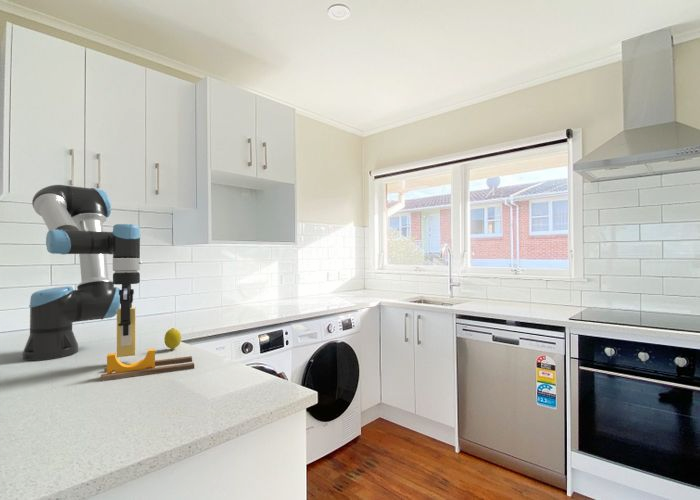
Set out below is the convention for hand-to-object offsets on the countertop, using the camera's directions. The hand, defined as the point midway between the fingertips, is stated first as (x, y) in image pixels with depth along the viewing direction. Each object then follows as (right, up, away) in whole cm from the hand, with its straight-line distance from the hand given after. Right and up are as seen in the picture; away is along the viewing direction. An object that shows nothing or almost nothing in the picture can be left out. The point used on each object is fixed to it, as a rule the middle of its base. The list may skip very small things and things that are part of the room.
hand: (126, 344), depth 119 cm
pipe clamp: (+8, -6, -10) cm, 15 cm away
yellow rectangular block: (0, -4, 0) cm, 4 cm away
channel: (+12, -6, -7) cm, 15 cm away
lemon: (+7, -6, +16) cm, 19 cm away
